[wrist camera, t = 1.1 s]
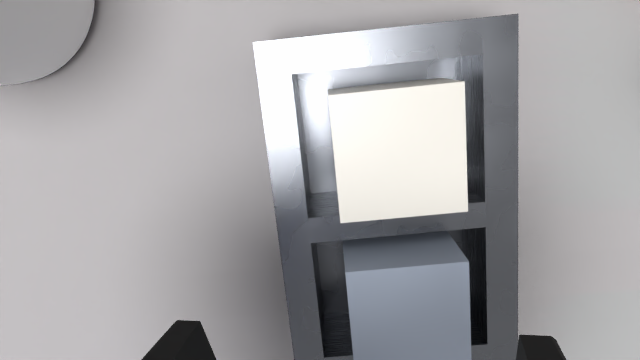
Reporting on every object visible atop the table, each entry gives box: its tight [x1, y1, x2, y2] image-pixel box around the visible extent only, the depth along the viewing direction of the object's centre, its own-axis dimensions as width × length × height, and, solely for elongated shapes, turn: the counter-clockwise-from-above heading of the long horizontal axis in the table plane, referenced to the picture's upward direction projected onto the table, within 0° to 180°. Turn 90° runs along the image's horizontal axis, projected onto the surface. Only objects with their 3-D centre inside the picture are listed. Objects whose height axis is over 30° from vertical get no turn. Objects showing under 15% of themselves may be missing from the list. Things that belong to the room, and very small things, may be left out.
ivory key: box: [328, 78, 468, 223], centre depth 16 cm, size 4×4×3 cm
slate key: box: [342, 231, 471, 360], centre depth 18 cm, size 4×4×3 cm
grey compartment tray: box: [253, 14, 518, 360], centre depth 20 cm, size 20×9×4 cm, turn 6°
